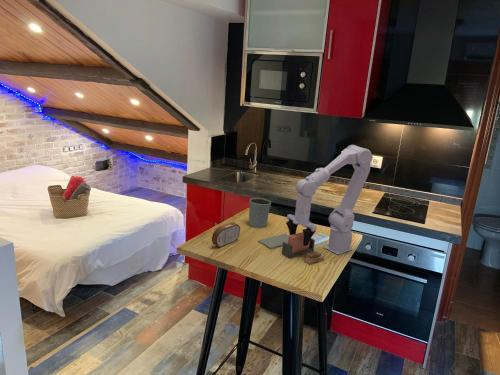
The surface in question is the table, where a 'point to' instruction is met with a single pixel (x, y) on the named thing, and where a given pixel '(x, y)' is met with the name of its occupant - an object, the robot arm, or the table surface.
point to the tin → (226, 234)
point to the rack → (288, 252)
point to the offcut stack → (314, 258)
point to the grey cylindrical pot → (259, 212)
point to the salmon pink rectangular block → (297, 242)
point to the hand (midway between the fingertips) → (298, 241)
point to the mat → (274, 241)
